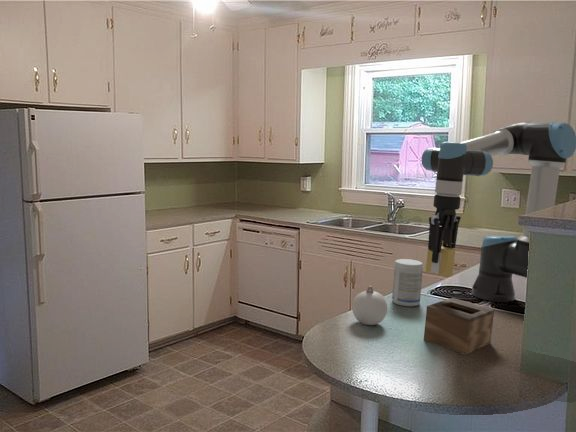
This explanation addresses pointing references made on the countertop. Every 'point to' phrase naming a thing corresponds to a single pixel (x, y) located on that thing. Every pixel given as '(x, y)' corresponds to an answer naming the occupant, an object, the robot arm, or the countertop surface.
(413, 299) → the supplement tub
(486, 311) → the brown wooden slotted box
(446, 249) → the yellow rectangular block
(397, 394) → the countertop surface
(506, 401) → the countertop surface
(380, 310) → the ornament
